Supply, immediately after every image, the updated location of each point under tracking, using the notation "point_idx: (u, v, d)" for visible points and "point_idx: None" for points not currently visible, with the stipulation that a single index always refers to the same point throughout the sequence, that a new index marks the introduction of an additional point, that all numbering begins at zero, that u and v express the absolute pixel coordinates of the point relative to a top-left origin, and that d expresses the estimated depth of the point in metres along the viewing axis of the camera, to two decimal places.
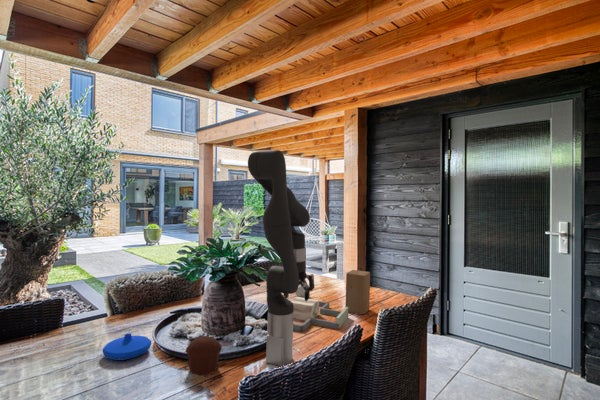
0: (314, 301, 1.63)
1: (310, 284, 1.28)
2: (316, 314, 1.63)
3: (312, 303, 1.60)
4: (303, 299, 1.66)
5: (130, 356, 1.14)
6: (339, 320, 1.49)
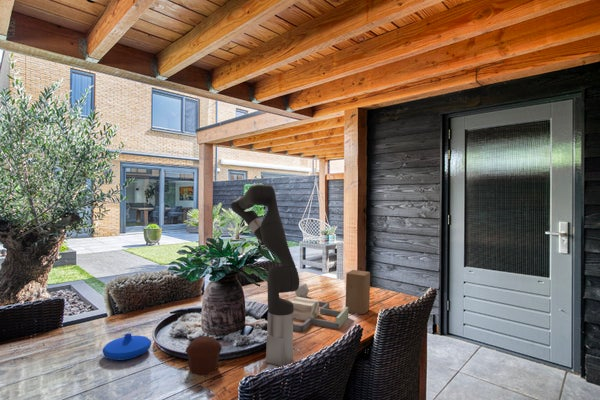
0: (314, 301, 1.63)
1: None
2: (316, 314, 1.63)
3: (312, 303, 1.60)
4: (303, 299, 1.66)
5: (130, 356, 1.14)
6: (339, 320, 1.49)
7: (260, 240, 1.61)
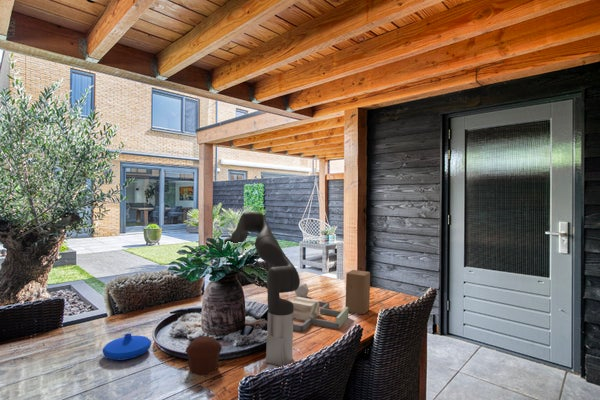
0: (314, 301, 1.63)
1: None
2: (316, 314, 1.62)
3: (312, 303, 1.60)
4: (303, 299, 1.66)
5: (130, 356, 1.14)
6: (339, 320, 1.49)
7: (257, 280, 1.67)
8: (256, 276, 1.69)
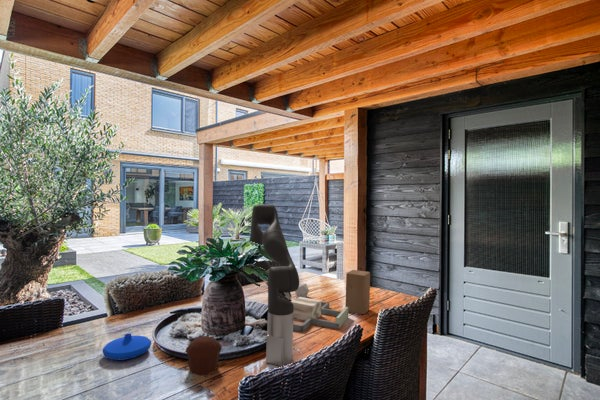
0: (316, 301, 1.63)
1: (289, 292, 1.70)
2: (318, 314, 1.62)
3: (313, 303, 1.60)
4: (305, 299, 1.66)
5: (130, 356, 1.14)
6: (339, 320, 1.49)
7: (278, 296, 1.62)
8: None
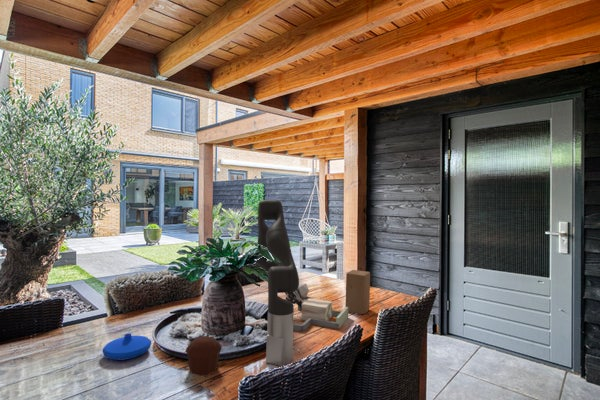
0: (327, 303, 1.61)
1: (300, 294, 1.68)
2: (329, 316, 1.61)
3: (326, 305, 1.58)
4: (316, 301, 1.64)
5: (130, 356, 1.14)
6: (339, 320, 1.49)
7: (289, 297, 1.60)
8: (287, 292, 1.62)
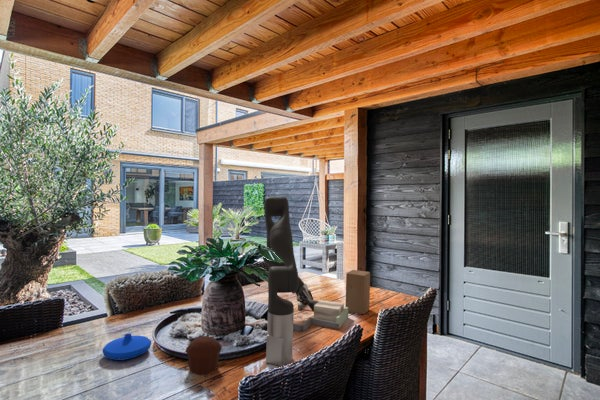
0: (339, 304, 1.60)
1: (311, 295, 1.66)
2: None
3: (338, 306, 1.56)
4: (328, 302, 1.62)
5: (130, 356, 1.14)
6: (339, 320, 1.49)
7: (301, 299, 1.58)
8: (299, 294, 1.60)
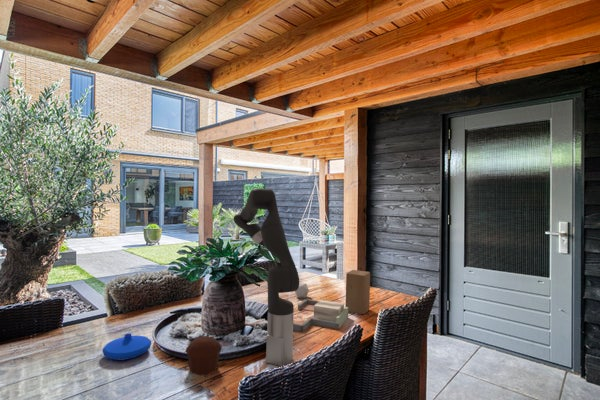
0: (339, 304, 1.59)
1: None
2: None
3: (338, 306, 1.56)
4: (328, 302, 1.62)
5: (130, 356, 1.14)
6: (339, 320, 1.49)
7: None
8: None
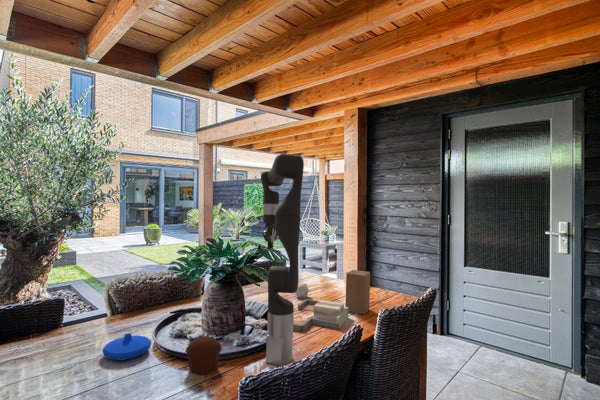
0: (340, 304, 1.59)
1: (276, 235, 1.60)
2: None
3: (338, 306, 1.56)
4: (328, 302, 1.62)
5: (130, 356, 1.14)
6: (339, 320, 1.49)
7: (265, 234, 1.52)
8: (267, 228, 1.53)
